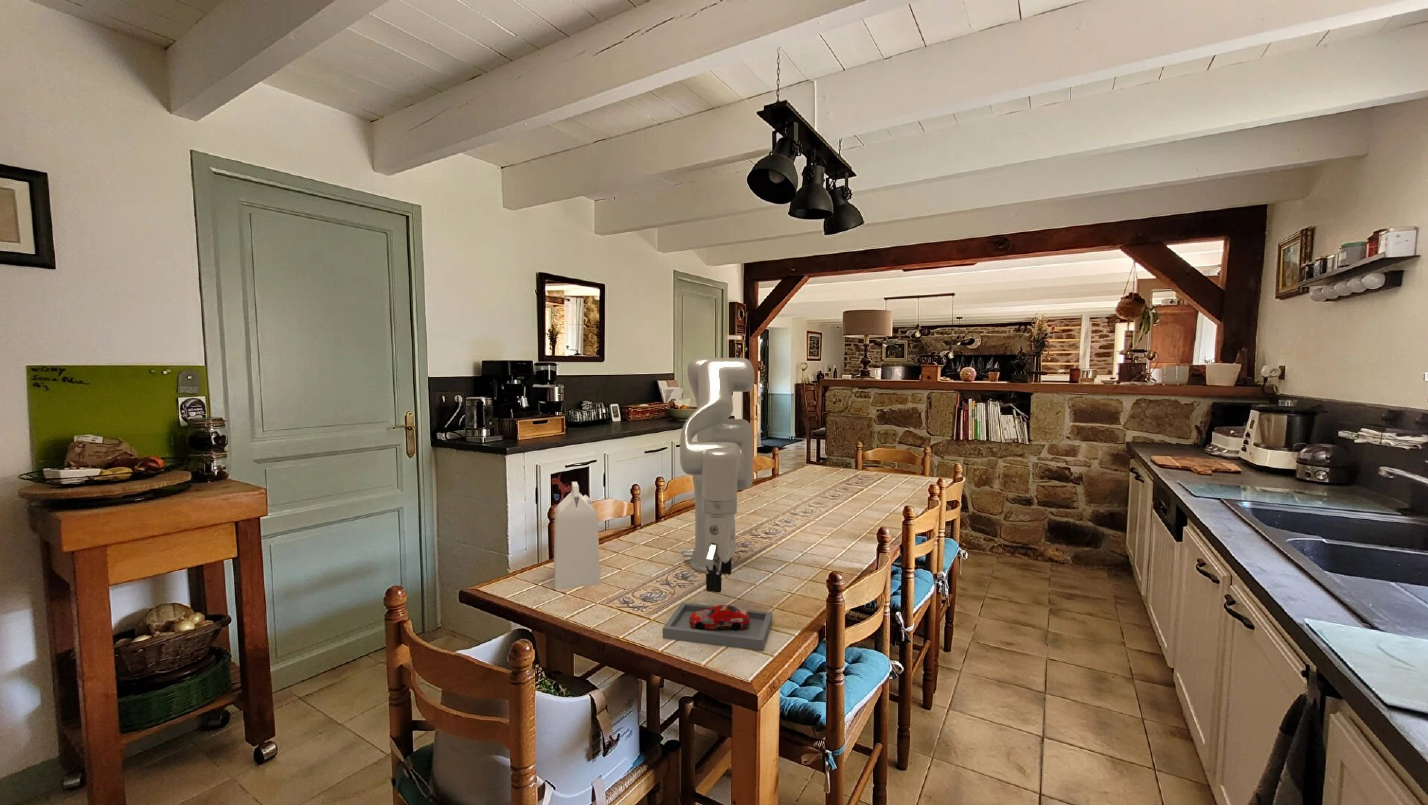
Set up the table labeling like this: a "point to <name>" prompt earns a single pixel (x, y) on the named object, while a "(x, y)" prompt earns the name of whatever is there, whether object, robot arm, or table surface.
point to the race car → (720, 618)
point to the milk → (576, 542)
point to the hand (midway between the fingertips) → (719, 582)
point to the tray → (742, 638)
